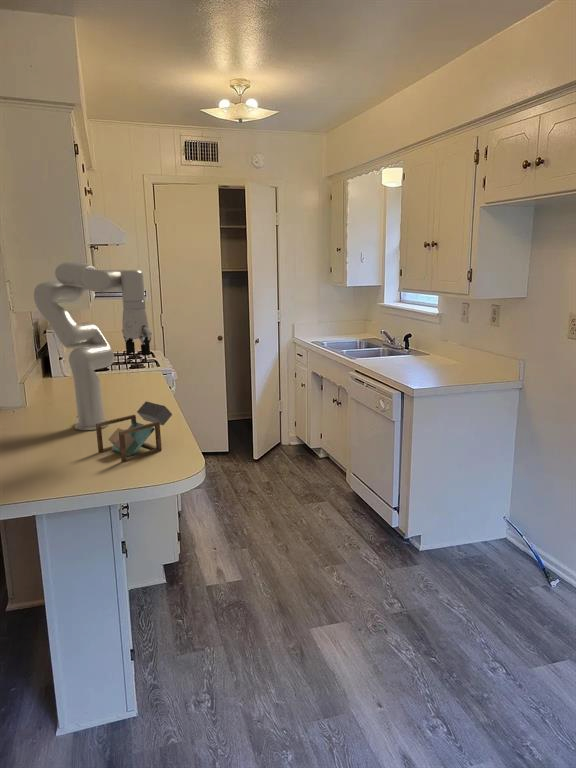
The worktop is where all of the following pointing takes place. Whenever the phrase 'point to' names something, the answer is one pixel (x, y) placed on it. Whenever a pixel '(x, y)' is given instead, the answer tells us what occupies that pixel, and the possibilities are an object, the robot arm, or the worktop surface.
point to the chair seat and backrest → (148, 413)
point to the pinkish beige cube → (115, 441)
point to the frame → (122, 437)
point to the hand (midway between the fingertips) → (138, 354)
